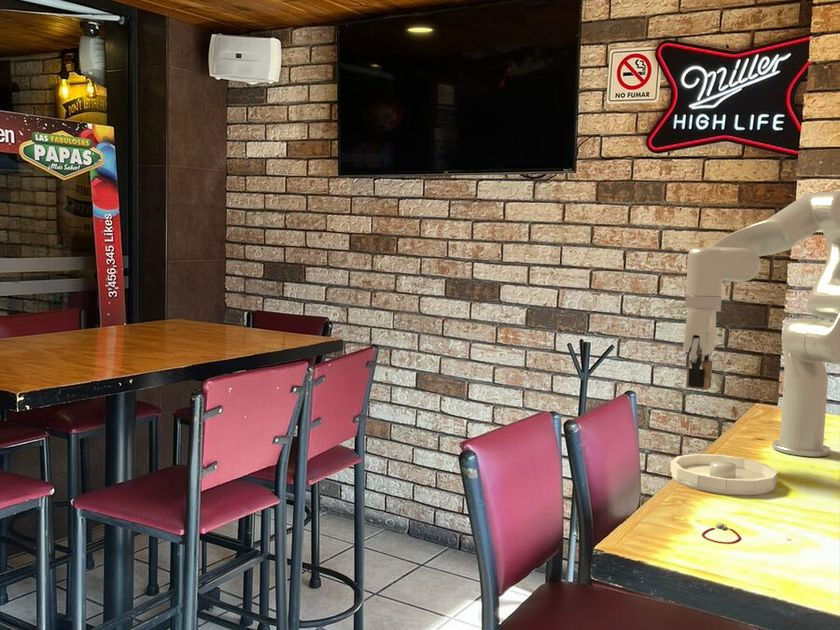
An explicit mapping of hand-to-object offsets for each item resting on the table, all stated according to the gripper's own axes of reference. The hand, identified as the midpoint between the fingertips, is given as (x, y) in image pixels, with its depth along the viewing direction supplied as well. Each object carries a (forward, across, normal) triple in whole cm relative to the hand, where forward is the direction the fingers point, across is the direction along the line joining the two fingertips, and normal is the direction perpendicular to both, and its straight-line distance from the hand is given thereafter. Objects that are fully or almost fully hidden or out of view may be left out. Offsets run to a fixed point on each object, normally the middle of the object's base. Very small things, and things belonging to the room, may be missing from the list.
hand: (698, 384), depth 187 cm
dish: (+17, +14, +9) cm, 24 cm away
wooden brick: (+1, 0, 0) cm, 1 cm away
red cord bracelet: (+18, +48, +16) cm, 54 cm away
